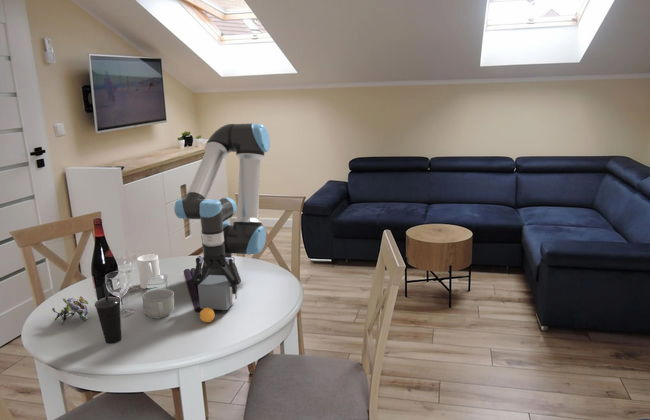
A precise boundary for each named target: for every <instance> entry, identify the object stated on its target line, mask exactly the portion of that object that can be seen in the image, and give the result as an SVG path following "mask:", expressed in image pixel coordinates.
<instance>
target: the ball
mask: <svg viewBox="0 0 650 420" xmlns="http://www.w3.org/2000/svg"><path fill="white" fill-rule="evenodd" d="M215 316H216V315H215V310H214V309H211V308H204V309H201V310H200V312H199V319H200V320H201V321H202V322H203V323H211V322H212V321H213V320H214V319H215Z"/></svg>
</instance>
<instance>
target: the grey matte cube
mask: <svg viewBox="0 0 650 420" xmlns="http://www.w3.org/2000/svg"><path fill="white" fill-rule="evenodd" d="M230 285H231V284H230V283H229V281H228V280H227V278H226V277H225V276H221V275H209V276H208V277H207V278H205V279H204V280H203V281H202V282H201V283H200V284H199V285H198V284H197V291H198V299H199V301H198V302H199V303H198V304H199V309H201V310H203V309H204V308H211V309H212V310H221V311H228V310H229V308H230V307H231V306H232V304H233V303H231V301H230V289H229V286H230ZM237 293H238V292H237ZM237 293H236V294H235V301H236V300H237V298H238V294H237Z"/></svg>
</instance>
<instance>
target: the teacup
mask: <svg viewBox="0 0 650 420" xmlns="http://www.w3.org/2000/svg"><path fill="white" fill-rule="evenodd" d="M141 298H142V306H143V311H144V313H145V314H146V315H147V316H149V317H150V318H153V319H162V318H165V317H167V316H169V315H170V314H171V313H172V312H173V310H174V307H175V292H174V291H173V290H171V289H167V288H166V289H165V288H163V289H162V288H161V289H160V288H157V289H153V290H148V291H146V292H145V293H143V294H142V296H141Z"/></svg>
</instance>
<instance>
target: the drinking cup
mask: <svg viewBox="0 0 650 420" xmlns="http://www.w3.org/2000/svg"><path fill="white" fill-rule="evenodd" d="M103 290H104V296H105V297H103V298H100V299H98V300H97V301H96V302H94V307H95V308H96V312H97V315H98V320H99V324H100V326H101V330H102V334H103V338H104V341H105V343H106V344H108V345H113V344H117V343H119V342H121V340H122V324H121V323H122V322H121V304H120V303H121V298H120V297H116V296H108V290H107V283H106V282H103Z"/></svg>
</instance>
